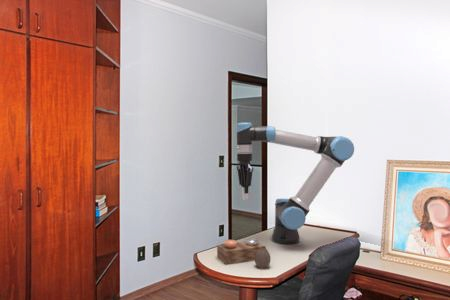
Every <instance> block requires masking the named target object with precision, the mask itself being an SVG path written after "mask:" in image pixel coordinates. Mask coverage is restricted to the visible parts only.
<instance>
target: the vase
mask: <svg viewBox="0 0 450 300" xmlns="http://www.w3.org/2000/svg"><path fill="white" fill-rule="evenodd" d="M264 246H265V245H264ZM264 246H261V247H260V248H259V250H258V251H257V252H256V254H255V261H254V263H255V265H256V266H257V267H258V268H259V269H267V268H268V267H269V266H270V264H271V254H270V252H269V251H268V249H267V246H265V247H264Z"/></svg>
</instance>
